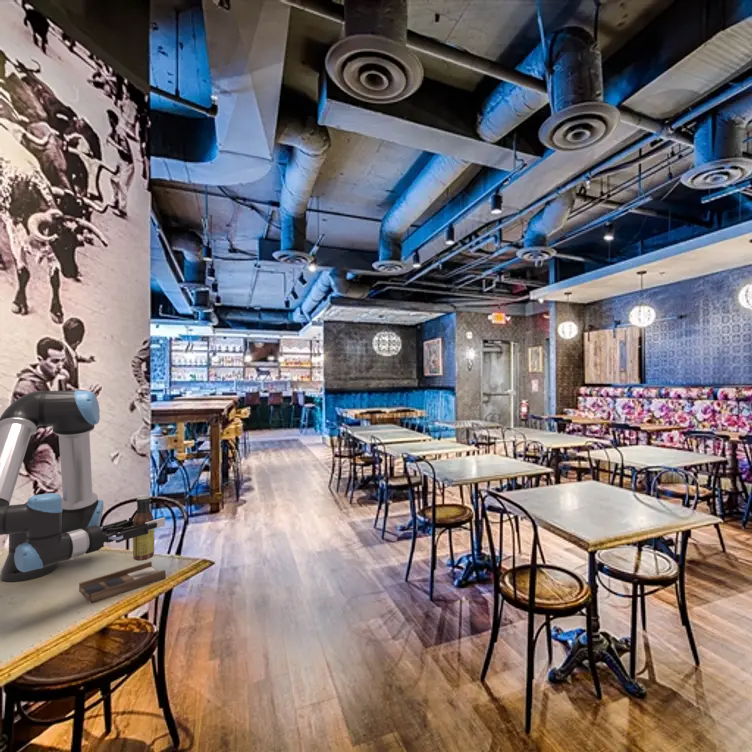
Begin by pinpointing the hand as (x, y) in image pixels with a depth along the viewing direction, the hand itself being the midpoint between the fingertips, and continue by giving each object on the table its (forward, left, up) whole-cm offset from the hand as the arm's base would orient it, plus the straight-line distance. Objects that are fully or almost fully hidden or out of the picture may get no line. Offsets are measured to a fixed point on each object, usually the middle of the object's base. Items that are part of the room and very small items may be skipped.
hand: (158, 520), depth 142 cm
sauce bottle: (+1, -5, -11) cm, 12 cm away
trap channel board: (0, -11, -18) cm, 21 cm away
